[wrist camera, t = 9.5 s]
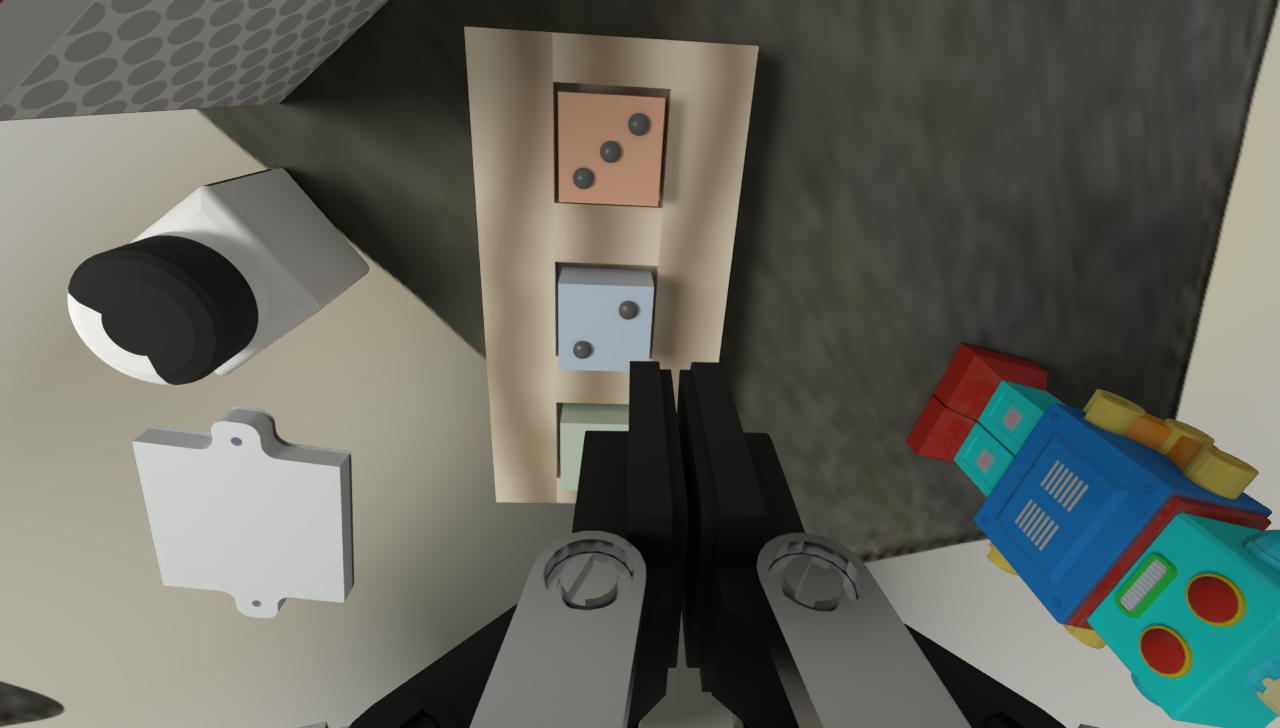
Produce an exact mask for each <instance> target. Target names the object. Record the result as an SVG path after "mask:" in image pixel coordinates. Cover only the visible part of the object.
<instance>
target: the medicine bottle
mask: <svg viewBox="0 0 1280 728" xmlns="http://www.w3.org/2000/svg"><path fill="white" fill-rule="evenodd" d="M368 271H369V266H368V264H367V263H366V262H365V261H364V260H363V258H362V257H361V256H360V255H359V254H358V253H357V252H356V250H355V249H354V248H353V247H352V246H351V245H350V244H349V242H348V241H347V240H346V239H345V238H344V237H343V236H342V234H341V233H340V232H339V231H338V230H337V229H336V228H335V226H334V225H333V224H332V223H331V222H330V221H329V220H328V219H327V217H326V216H325V215H324V214H323V213H322V212H321V211H320V209H319V208H318V207H317V206H316V205H315V204H314V203H313V201H312V200H311V199H310V198H309V197H308V196H307V195H306V193H305V192H304V191H303V190H302V189H301V188H300V187H299V185H298V184H297V183H296V182H295V181H294V180H293V179H292V177H291V176H290V175H289V174H288V173H287V172H286V171H285V170H284V169H283V168H279V167H276V168H272V169H268V170H264V171H260V172H256V173H252V174H248V175H244V176H240V177H236V178H232V179H228V180H224V181H220V182H216V183H212V184H208V185H204V186H201V187H199V188H198V189H197V190H196V191H194V192H193V193H192V194H190V195H189V196H188V197H187V198H185V199H184V200H183V201H182V202H180V203H179V204H178V205H177V206H175V207H174V208H173V209H172V210H170V211H169V212H168V213H167V214H165V215H164V216H163V217H162V218H161V219H159V220H158V221H157V222H156V223H154V224H153V225H152V226H151V227H149V228H148V229H147V230H146V231H144V232H143V233H142V234H141V235H139V236H138V237H137V238H136V239H134V240H133V241H132V242H131V243H129V244H127V245H124V246H121V247H118V248H115V249H112V250H109V251H106V252H103V253H99V254H97V255H94V256H92V257H90V258H88V259H87V260H85V261H84V262H83V263H82V264H81V265H80V266H79V267H78V268H77V269H76V270H75V272H74V274H73V276H72V278H71V280H70V284H69V287H68V307H69V313H70V317H71V320H72V322H73V324H74V327H75V329H76V330H77V332H78V334H79V336H80V337H81V338H82V340H83V341H84V342H85V344H86V345H87V346H88V347H89V348H90V349H91V350H92V351H93V352H94V353H95V354H96V355H97V356H98V357H99V358H101V359H102V360H103V361H105V362H106V363H107V364H108V365H110V366H112V367H113V368H115V369H117V370H118V371H120V372H122V373H124V374H126V375H129V376H131V377H134V378H137V379H140V380H144V381H148V382H152V383H157V384H164V385H181V384H187V383H192V382H195V381H198V380H200V379H202V378H204V377H206V376H207V375H209V374H210V373H212V372H213V371H214V372H215V373H217V374H218V375H221V376H224V375H227V374H229V373H231V372H232V371H233V370H235V369H236V368H238V367H239V366H241V365H242V364H244V363H245V362H246V361H248V360H249V359H251V358H252V357H253V356H255V355H256V354H258V353H259V352H261V351H262V350H263V349H265V348H266V347H268V346H269V345H271V344H272V343H274V342H275V341H276V340H278V339H279V338H281V337H282V336H284V335H285V334H286V333H288V332H289V331H291V330H292V329H294V328H295V327H296V326H298V325H299V324H301V323H302V322H304V321H305V320H306V319H308V318H309V317H311V316H312V315H314V314H315V313H316V312H318V311H319V310H321V309H322V308H323V307H324V306H326V305H327V304H328V303H330V302H331V301H332V300H333V299H335V298H336V297H337V296H339V295H340V294H341V293H342V292H344V291H345V290H346V289H348V288H349V287H350V286H351V285H353V284H354V283H355V282H356V281H358V280H359V279H360V278H362V277H363V276H364V275H366V274H367V273H368Z"/></svg>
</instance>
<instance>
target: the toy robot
mask: <svg viewBox="0 0 1280 728" xmlns="http://www.w3.org/2000/svg"><path fill="white" fill-rule="evenodd" d="M1047 373H1048V372H1047V371H1045V370H1044V369H1042V368H1041V367H1039V366H1038V365H1036V364H1035V363H1033V362H1032V361H1028V360H1024V359H1020V358H1017V357H1013V356H1009V355H1005V354H1001V353H997V352H994V351H990V350H986V349H982V348H978V347H974V346H971V345H967V344H963V343H961V345H960V347H959V349H958V351H957V352H956V354H955V356H954V358H953V359H952V361H951V363H950V365H949V367H948V368H947V370H946V372H945V374H944V375H943V377H942V379H941V381H940V383H939V384H938V386H937V388H936V390H935V391H934V394H935V395H936V396H935V395H932V397H931V399H930V400H929V402H928V404H927V406H926V407H925V409H924V411H923V413H922V415H921V416H920V418H919V420H918V422H917V424H916V425H915V427H914V429H913V431H912V432H911V434H910V436H909V438H908V440H907V443H908V444H909V446H910V447H911V448H912V449H913V450H914V452H915V453H916V454H917V455H920V456H925V457H929V458H934V459H938V460H943V461H947V462H952V463H956V464H958V465H959V466H960V468H961V469H962V470H963V471H964V472H965V473H966V474H967V475H968V476H969V477H970V479H971V480H972V481H973V482H974V483H975V484H976V485H977V486H978V487H979V488H980V490H981V491H982V492H983V493H984V494H985V495H986V496H987V497H988V498H987V499H986V501H985V502H984V504H983V505H982V507H981V508H980V510H979V511H978V513H977V514H976V516H975V517H974V522H975V523H976V524H977V525H978V526H979V528H980V529H981V530H982V531H983V532H984V534H985V535H986V536H987V537H988V538H989V540H990V541H991V542H990V544H989V546H990V547H991V548H992V549H991V551H990V552H989V554H988V555H987V558H988V559H989V560H990V561H991V562H992V563H994V564H995V565H996V566H998V567H999V568H1001V569H1002V570H1004V571H1006V572H1008V573H1011V574H1014V575H1019V576H1020V577H1021V578H1022V580H1023V581H1024V582H1025V583H1026V584H1027V586H1028V587H1029V588H1030V589H1031V591H1032V592H1033V593H1034V594H1035V595H1036V597H1037V598H1038V599H1039V600H1040V601H1041V603H1042V604H1043V605H1044V606H1045V607H1046V608H1047V610H1048V611H1049V612H1050V614H1051V615H1052V616H1053V617H1054V618H1055V619H1056V621H1057V622H1058V623H1060V624H1063V625H1064V627H1065V628H1066V629H1067V631H1069V633H1070V634H1072V635H1073V636H1074V637H1075V638H1076V639H1078V640H1079V641H1081V642H1082V643H1084V644H1086V645H1088V646H1090V647H1092V648H1097V649H1100V648H1103V647H1104V646H1105V645H1106V644H1107V645H1108V646H1109V647H1110V648H1111V649H1112V651H1113V652H1114V653H1115V654H1116V655H1117V656H1118V658H1119V659H1120V660H1121V661H1122V662H1123V663H1124V665H1125V666H1126V667H1127V668H1128V669H1129V670H1130V672H1131V677H1132V680H1133V682H1134V684H1135V686H1136V687H1137V689H1138V690H1139V691H1140V693H1141V694H1142V695H1143V696H1145V697H1146V698H1147V699H1148V700H1149V701H1151V702H1152V703H1154V704H1156V705H1157V706H1160V707H1162V709H1163V710H1164V711H1165V712H1166V713H1167V714H1168V716H1169V717H1170V718H1171V719H1173V720H1177V721H1184V722H1190V723H1196V724H1203V725H1209V726H1215V727H1222V728H1265V727H1266V726H1267V725H1268V724H1269V723H1270V722H1271V721H1273V720H1274V719H1275V718H1276V717H1278V716H1279V717H1280V530H1265V529H1266V528H1267V527H1268V526H1269V525H1270V524H1271V521H1270V520H1269V519H1267V517H1269V516H1270V515H1271V514H1272V511H1271V510H1270V509H1268V508H1267V507H1265V506H1264V505H1262V504H1261V503H1259V502H1258V501H1256V500H1255V499H1253V498H1251V497H1250V496H1248V495H1247V494H1245V493H1244V492H1243V491H1244V489H1245V488H1246V487H1247V486H1248V485H1249V484H1250V483H1251V482H1252V480H1253V479H1254V478H1255V477H1256V476H1257V475H1258V474H1259V473H1258V471H1257V470H1256V469H1255V468H1253V467H1252V466H1250V465H1249V464H1247V463H1245V462H1243V461H1242V460H1240V459H1238V458H1236V457H1234V456H1232V455H1230V454H1227V453H1225V452H1223V451H1220V450H1219V449H1218V448H1217V447H1215V446H1214V445H1213V443H1214V442H1215V441H1214V439H1213V438H1211V437H1210V436H1208V435H1207V434H1205V433H1203V432H1202V431H1200V430H1198V429H1196V428H1194V427H1192V426H1190V425H1188V424H1185V423H1182V422H1179V421H1176V420H1173V419H1168V418H1167V419H1165V420H1162V419H1160V418H1157V417H1155V416H1152V415H1150V414H1148V413H1146V412H1145V410H1144V409H1142V408H1141V407H1140V406H1138V405H1136V404H1135V403H1133V402H1131V401H1129V400H1127V399H1125V398H1123V397H1120V396H1118V395H1116V394H1113V393H1111V392H1108V391H1105V390H1101V389H1097V390H1096V392H1095V393H1094V395H1093V396H1092V397H1091V399H1090V400H1089V402H1088V403H1087V405H1086V406H1085V407H1084V409H1079V408H1075V407H1071V406H1067V405H1065V404H1064V403H1062V402H1061V401H1060V400H1058V399H1057V398H1055V397H1054V396H1053V395H1051V394H1050V393H1048V392H1047V391H1046V386H1047ZM1264 530H1265V531H1264Z"/></svg>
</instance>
